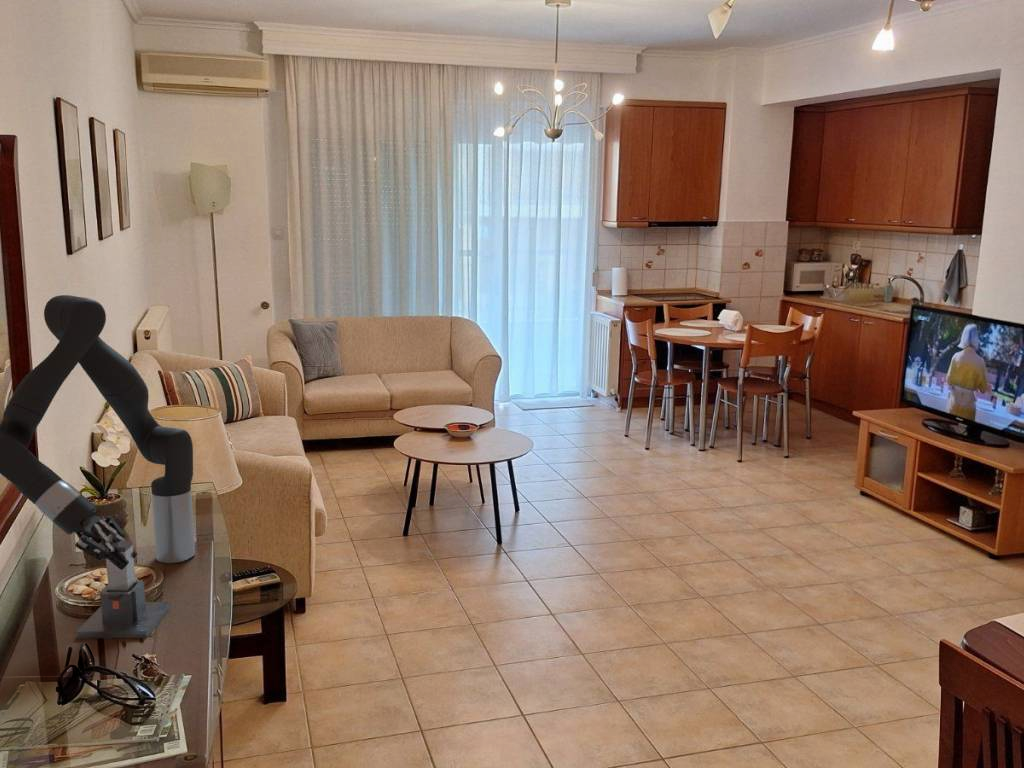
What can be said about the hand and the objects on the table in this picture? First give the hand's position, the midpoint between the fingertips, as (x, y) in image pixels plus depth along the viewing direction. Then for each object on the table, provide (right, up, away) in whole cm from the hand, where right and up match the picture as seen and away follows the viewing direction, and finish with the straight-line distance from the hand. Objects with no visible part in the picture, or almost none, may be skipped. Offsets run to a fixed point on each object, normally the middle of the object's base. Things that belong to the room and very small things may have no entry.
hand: (129, 561), depth 188 cm
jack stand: (-2, -13, +2) cm, 14 cm away
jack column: (-2, -12, +2) cm, 12 cm away
